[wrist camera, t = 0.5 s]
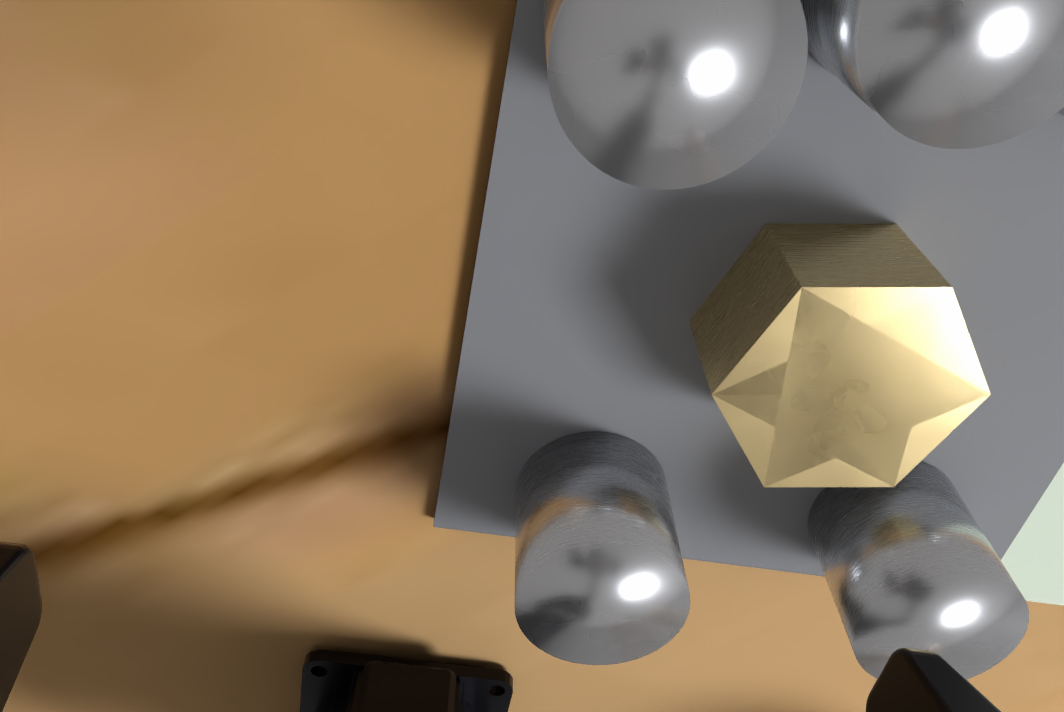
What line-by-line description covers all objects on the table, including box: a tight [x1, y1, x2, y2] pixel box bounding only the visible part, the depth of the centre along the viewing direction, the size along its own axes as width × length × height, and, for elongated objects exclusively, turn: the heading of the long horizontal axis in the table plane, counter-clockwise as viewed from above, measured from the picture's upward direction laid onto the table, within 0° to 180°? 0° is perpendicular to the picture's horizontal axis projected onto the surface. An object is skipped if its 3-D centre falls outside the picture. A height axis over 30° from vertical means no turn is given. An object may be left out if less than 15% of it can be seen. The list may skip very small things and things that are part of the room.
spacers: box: [515, 0, 1064, 679], centre depth 18 cm, size 18×14×4 cm
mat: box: [433, 0, 1064, 605], centre depth 20 cm, size 18×21×1 cm
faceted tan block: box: [689, 223, 991, 487], centre depth 19 cm, size 5×6×3 cm
